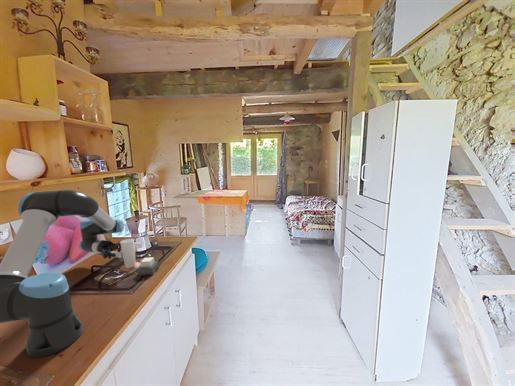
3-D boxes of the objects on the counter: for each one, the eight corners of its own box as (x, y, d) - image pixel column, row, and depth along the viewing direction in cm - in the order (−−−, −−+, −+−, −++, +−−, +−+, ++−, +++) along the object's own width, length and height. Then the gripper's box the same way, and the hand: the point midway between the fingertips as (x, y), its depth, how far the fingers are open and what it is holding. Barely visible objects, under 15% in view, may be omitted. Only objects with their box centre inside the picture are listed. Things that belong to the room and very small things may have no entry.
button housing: (153, 274, 127) (152, 267, 126) (138, 275, 127) (137, 268, 126) (159, 267, 135) (158, 260, 134) (144, 268, 135) (143, 261, 134)
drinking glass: (127, 270, 130) (123, 244, 128) (121, 267, 134) (117, 241, 132) (139, 265, 136) (136, 240, 133) (133, 262, 140) (130, 238, 137)
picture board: (109, 285, 118) (108, 283, 118) (94, 280, 125) (94, 277, 124) (148, 266, 137) (147, 264, 137) (133, 262, 144) (133, 260, 143)
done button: (151, 269, 128) (150, 261, 127) (141, 269, 128) (140, 261, 127) (154, 264, 133) (153, 257, 132) (145, 265, 133) (144, 257, 132)
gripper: (122, 244, 152) (149, 247, 145) (82, 262, 129) (112, 266, 122) (120, 233, 151) (147, 235, 144) (80, 249, 128) (110, 252, 121)
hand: (131, 250), depth 133 cm, fingers open, 13 cm apart
